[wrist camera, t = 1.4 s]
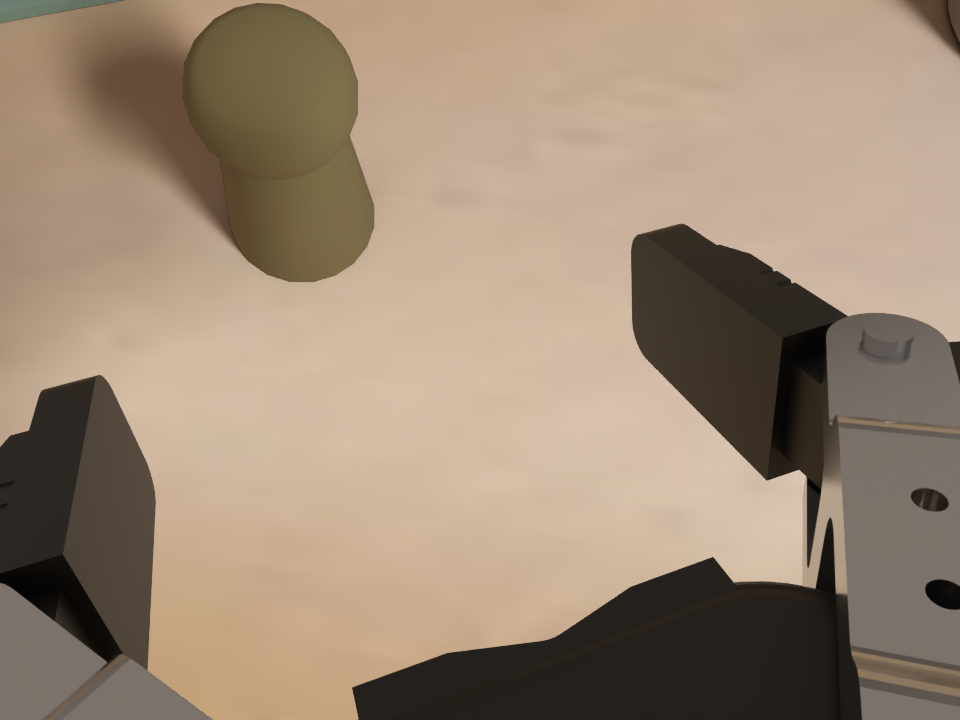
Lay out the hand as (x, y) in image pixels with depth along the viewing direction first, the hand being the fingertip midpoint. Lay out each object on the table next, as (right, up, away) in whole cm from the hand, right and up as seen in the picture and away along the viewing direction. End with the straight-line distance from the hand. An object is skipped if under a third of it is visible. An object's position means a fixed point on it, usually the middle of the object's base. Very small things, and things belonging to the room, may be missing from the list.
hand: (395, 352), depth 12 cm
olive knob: (-6, +6, +21) cm, 23 cm away
